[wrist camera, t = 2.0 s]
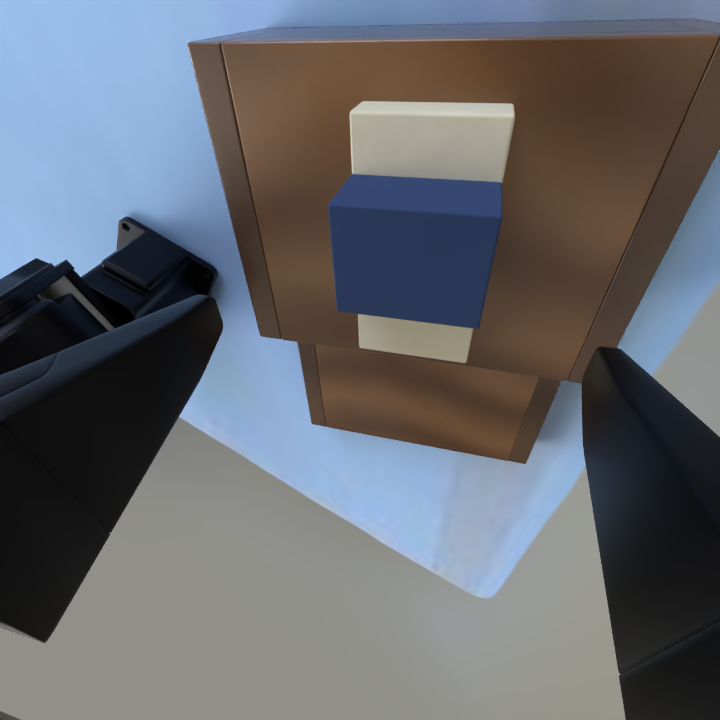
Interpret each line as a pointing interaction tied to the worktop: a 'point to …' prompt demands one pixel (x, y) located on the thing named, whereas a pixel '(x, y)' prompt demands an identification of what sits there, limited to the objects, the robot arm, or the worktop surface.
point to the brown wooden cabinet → (519, 200)
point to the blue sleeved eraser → (420, 223)
